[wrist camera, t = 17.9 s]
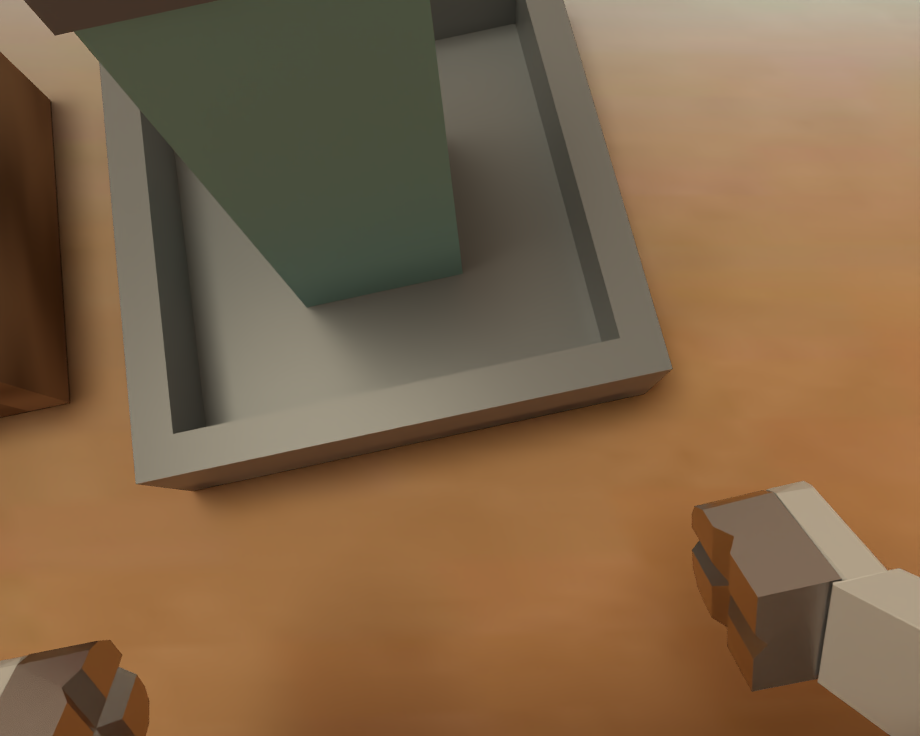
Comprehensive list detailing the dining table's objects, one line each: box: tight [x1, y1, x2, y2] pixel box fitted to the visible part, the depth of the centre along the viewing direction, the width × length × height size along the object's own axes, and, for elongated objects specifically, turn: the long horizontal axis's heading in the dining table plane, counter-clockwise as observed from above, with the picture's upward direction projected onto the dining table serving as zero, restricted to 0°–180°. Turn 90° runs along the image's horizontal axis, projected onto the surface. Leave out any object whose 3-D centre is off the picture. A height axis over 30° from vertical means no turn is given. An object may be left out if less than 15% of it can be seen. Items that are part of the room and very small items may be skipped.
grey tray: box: [99, 0, 672, 491], centre depth 19 cm, size 13×13×3 cm
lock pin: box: [24, 0, 463, 307], centre depth 13 cm, size 5×5×12 cm
